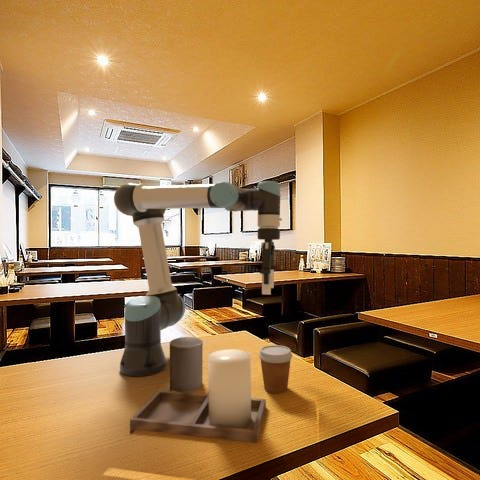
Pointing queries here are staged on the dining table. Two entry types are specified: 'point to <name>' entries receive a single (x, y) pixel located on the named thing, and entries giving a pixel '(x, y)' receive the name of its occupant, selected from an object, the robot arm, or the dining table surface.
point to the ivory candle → (229, 388)
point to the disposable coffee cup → (275, 368)
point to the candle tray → (192, 417)
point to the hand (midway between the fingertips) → (268, 290)
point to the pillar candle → (185, 364)
